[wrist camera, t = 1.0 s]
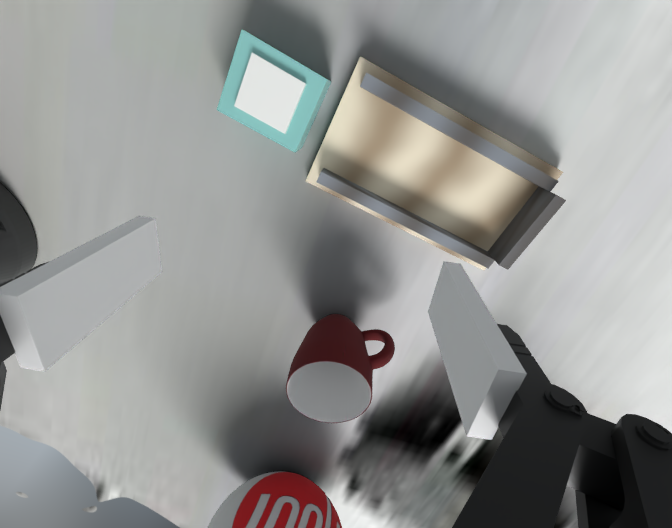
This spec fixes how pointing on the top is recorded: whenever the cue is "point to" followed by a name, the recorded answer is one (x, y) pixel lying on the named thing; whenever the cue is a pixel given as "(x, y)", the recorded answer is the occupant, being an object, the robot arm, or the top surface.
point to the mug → (335, 370)
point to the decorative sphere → (277, 504)
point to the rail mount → (433, 171)
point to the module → (272, 92)
